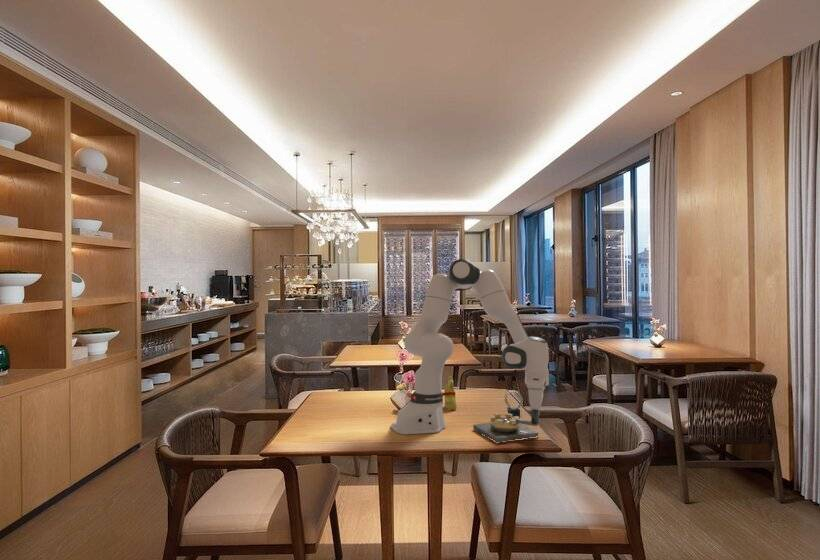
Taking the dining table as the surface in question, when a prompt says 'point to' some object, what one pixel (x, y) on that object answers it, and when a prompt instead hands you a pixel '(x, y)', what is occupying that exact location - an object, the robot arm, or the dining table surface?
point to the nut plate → (504, 436)
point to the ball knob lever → (512, 421)
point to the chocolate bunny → (450, 395)
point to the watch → (514, 410)
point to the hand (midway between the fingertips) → (537, 415)
